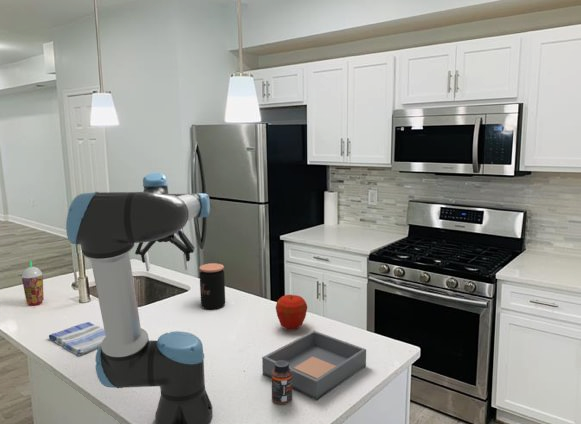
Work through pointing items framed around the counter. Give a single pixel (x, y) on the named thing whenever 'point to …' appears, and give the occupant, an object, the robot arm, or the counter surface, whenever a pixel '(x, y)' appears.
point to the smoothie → (33, 285)
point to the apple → (291, 311)
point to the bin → (317, 363)
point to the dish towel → (80, 338)
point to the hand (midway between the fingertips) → (167, 268)
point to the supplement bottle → (281, 383)
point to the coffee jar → (212, 286)
